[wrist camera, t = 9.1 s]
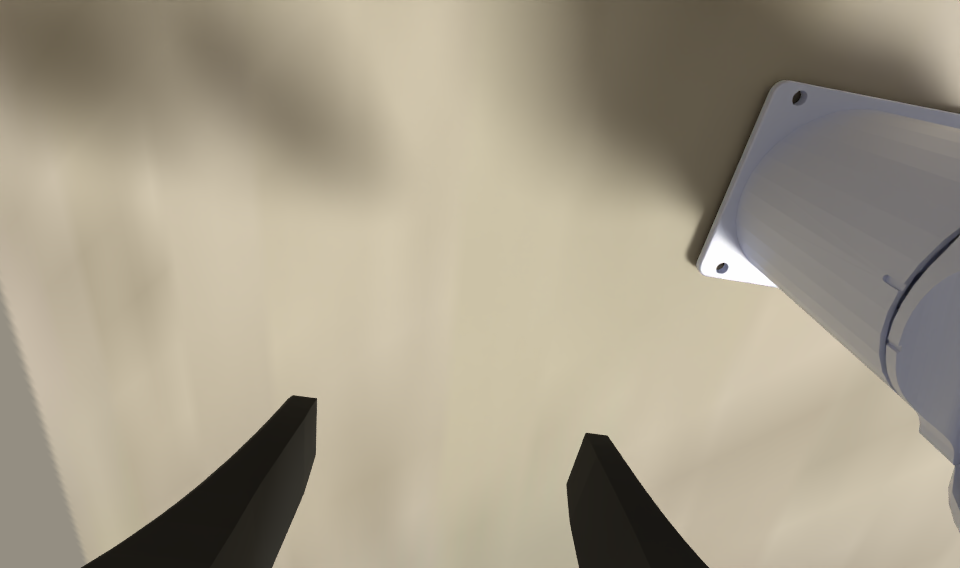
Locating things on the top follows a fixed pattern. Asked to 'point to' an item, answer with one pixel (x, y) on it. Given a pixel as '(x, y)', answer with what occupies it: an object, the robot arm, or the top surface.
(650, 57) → the top surface
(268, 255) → the top surface
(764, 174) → the robot arm
